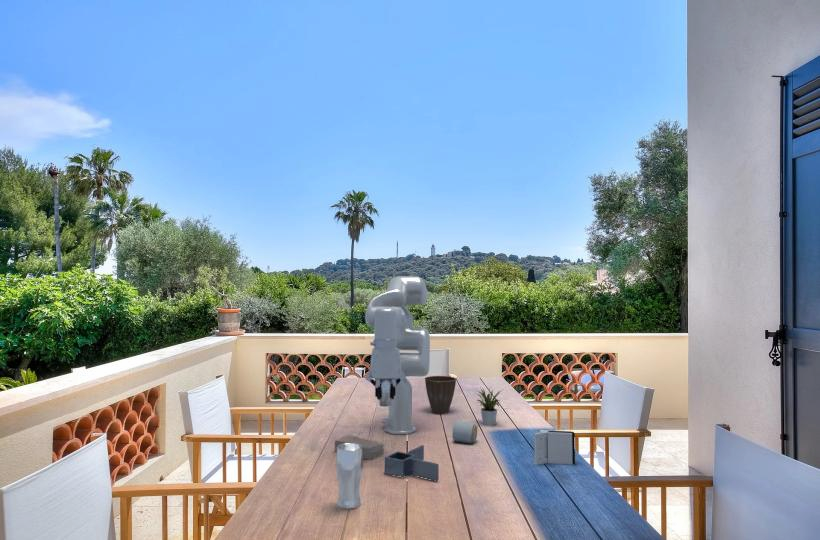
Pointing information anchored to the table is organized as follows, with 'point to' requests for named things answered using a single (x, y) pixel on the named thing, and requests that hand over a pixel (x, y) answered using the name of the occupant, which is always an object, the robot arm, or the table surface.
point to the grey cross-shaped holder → (411, 464)
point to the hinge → (554, 447)
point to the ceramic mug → (464, 432)
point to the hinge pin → (385, 392)
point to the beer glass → (349, 474)
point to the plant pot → (440, 392)
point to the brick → (363, 446)
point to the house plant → (488, 407)
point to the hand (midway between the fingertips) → (385, 398)
